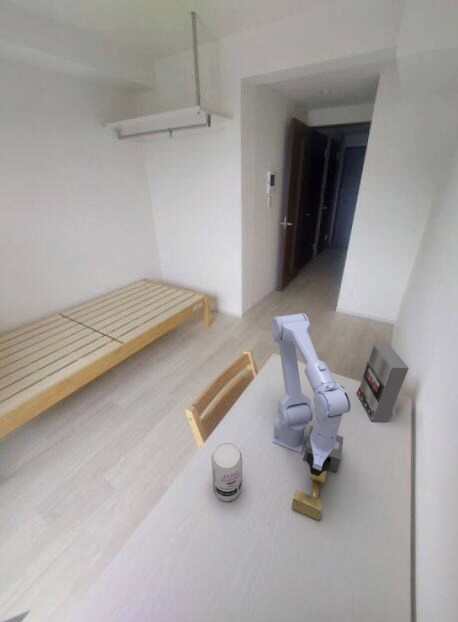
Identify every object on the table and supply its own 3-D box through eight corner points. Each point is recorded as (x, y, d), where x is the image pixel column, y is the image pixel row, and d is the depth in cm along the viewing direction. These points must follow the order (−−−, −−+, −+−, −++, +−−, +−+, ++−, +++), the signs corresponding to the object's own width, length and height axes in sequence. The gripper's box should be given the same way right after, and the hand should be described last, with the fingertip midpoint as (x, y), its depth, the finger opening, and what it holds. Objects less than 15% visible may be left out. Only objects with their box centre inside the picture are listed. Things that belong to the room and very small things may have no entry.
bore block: (302, 460, 84) (305, 446, 81) (307, 439, 90) (310, 425, 87) (336, 474, 80) (340, 459, 77) (339, 451, 87) (343, 437, 83)
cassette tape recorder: (355, 393, 108) (370, 342, 96) (371, 393, 108) (387, 342, 96) (370, 422, 96) (389, 368, 84) (387, 422, 96) (409, 368, 84)
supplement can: (227, 467, 83) (226, 435, 75) (247, 487, 77) (248, 454, 70) (207, 486, 78) (204, 454, 70) (227, 509, 72) (226, 477, 65)
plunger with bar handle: (291, 507, 72) (293, 497, 70) (303, 458, 84) (305, 447, 82) (318, 520, 70) (321, 510, 67) (326, 467, 82) (329, 457, 79)
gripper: (339, 460, 60) (328, 493, 67) (345, 412, 71) (335, 444, 78) (307, 447, 63) (300, 480, 69) (317, 403, 74) (311, 435, 81)
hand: (317, 461), depth 74 cm, fingers open, 7 cm apart
